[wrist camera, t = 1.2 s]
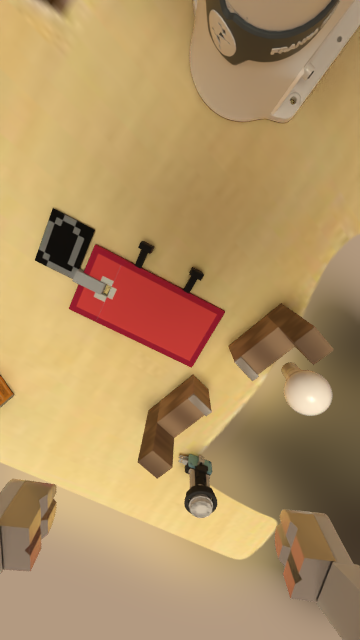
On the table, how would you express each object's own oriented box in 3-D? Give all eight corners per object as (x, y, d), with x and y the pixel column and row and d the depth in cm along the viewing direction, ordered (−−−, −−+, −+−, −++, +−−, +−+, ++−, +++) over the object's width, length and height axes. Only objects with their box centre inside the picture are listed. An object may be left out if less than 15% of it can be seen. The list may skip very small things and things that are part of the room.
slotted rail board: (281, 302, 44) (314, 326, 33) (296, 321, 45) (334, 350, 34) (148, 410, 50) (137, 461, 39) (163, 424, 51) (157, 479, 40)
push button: (174, 463, 54) (171, 512, 44) (185, 443, 52) (185, 489, 43) (204, 475, 55) (208, 526, 45) (216, 455, 53) (223, 503, 44)
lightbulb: (298, 387, 49) (329, 429, 38) (264, 379, 48) (286, 419, 38) (312, 356, 47) (349, 390, 36) (277, 346, 46) (304, 379, 36)
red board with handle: (60, 196, 40) (28, 285, 45) (51, 193, 38) (18, 289, 42) (235, 289, 44) (191, 363, 49) (239, 293, 42) (192, 371, 46)
